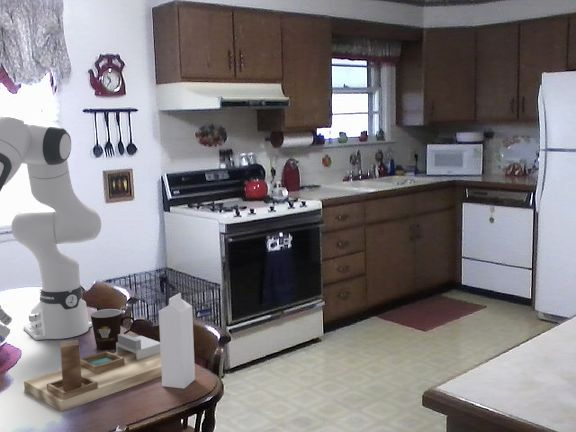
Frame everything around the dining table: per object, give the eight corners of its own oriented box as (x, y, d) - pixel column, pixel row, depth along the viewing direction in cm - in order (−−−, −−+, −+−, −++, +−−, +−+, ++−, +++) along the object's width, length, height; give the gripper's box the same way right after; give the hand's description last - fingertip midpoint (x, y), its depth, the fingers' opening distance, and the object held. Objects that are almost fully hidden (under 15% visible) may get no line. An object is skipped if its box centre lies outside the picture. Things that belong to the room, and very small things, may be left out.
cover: (116, 351, 170) (115, 334, 169) (141, 344, 176) (140, 327, 175) (137, 360, 163) (136, 342, 163) (162, 352, 169) (161, 334, 168)
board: (24, 390, 152) (23, 374, 151) (140, 353, 176) (139, 339, 175) (61, 411, 140) (60, 394, 139) (180, 369, 164) (180, 354, 163)
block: (63, 394, 143) (60, 347, 142) (63, 387, 147) (59, 342, 145) (82, 391, 145) (79, 344, 143) (81, 384, 148) (78, 339, 147)
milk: (162, 386, 153) (157, 298, 150) (174, 377, 158) (169, 291, 156) (184, 389, 151) (179, 299, 148) (196, 379, 157) (191, 293, 154)
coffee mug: (86, 350, 180) (84, 316, 178) (104, 340, 188) (102, 308, 186) (120, 354, 176) (118, 319, 174) (138, 344, 184) (136, 311, 182)
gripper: (-40, 289, 125) (17, 330, 130) (-30, 269, 144) (20, 305, 149) (-63, 313, 124) (-5, 354, 129) (-50, 290, 143) (1, 326, 148)
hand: (9, 328), depth 139 cm, fingers open, 8 cm apart
